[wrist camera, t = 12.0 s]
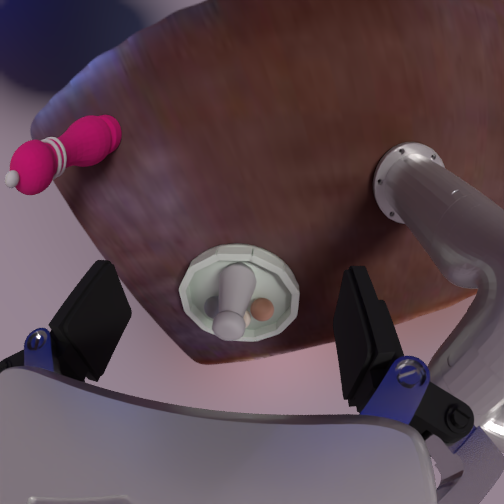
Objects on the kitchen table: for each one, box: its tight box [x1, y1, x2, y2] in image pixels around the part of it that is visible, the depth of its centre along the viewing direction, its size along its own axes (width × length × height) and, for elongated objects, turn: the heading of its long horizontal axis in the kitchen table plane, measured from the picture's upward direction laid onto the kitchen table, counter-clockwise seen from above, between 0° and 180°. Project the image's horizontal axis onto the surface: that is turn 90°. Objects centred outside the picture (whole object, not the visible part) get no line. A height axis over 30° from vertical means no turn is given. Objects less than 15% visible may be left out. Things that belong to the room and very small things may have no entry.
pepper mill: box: [5, 115, 121, 195], centre depth 26 cm, size 7×7×20 cm
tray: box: [179, 243, 300, 342], centre depth 47 cm, size 20×20×3 cm
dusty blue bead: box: [204, 296, 219, 319], centre depth 47 cm, size 4×4×4 cm
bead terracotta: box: [250, 298, 274, 321], centre depth 46 cm, size 4×4×4 cm
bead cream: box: [243, 310, 251, 327], centre depth 48 cm, size 4×4×4 cm
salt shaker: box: [212, 262, 257, 341], centre depth 39 cm, size 6×6×13 cm
